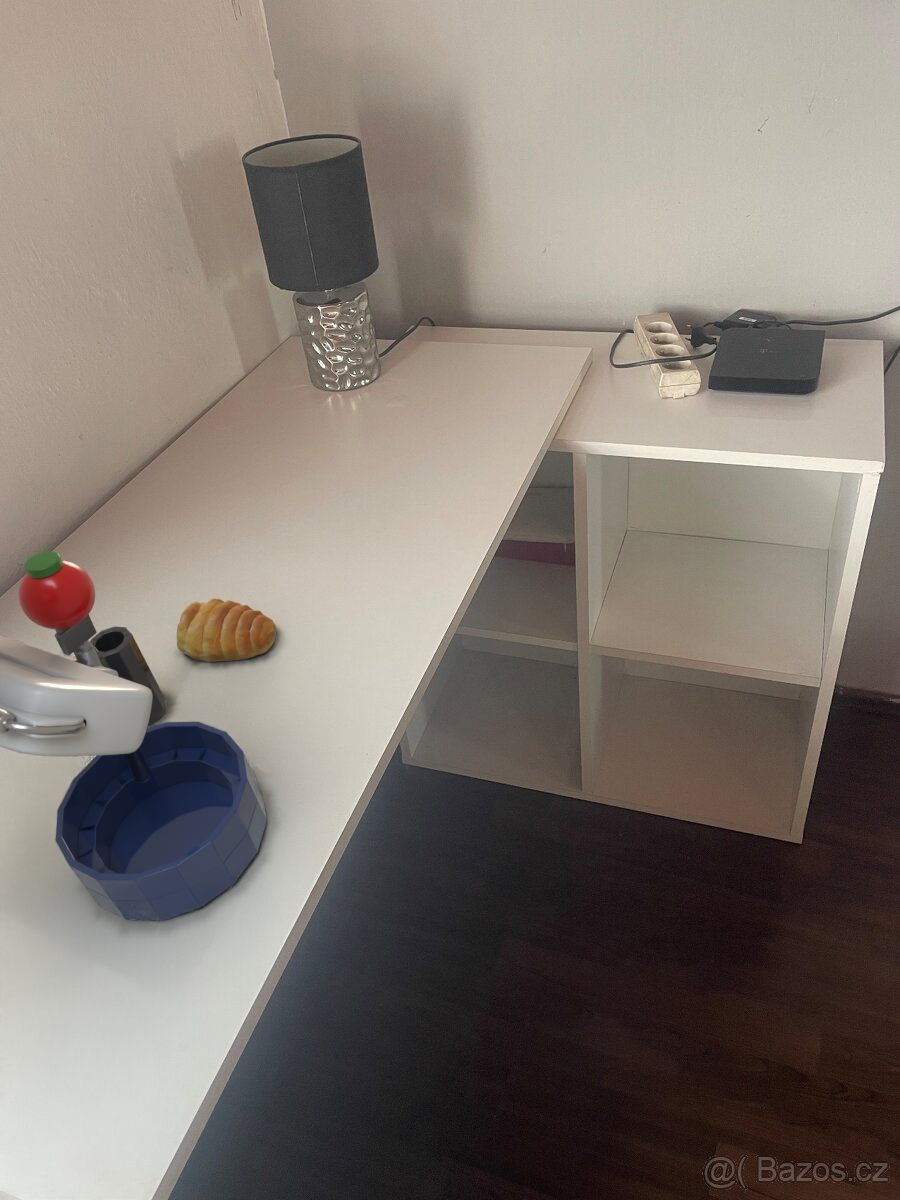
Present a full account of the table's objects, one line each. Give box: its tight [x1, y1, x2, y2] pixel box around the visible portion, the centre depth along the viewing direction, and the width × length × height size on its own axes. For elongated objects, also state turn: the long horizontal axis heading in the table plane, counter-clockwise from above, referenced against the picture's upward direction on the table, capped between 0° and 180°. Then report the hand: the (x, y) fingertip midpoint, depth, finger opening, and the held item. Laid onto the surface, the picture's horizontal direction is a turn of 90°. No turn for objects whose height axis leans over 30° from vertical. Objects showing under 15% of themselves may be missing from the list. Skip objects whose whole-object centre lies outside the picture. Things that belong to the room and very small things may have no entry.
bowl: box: [55, 721, 268, 921], centre depth 66 cm, size 14×14×6 cm
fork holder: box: [89, 625, 168, 727], centre depth 76 cm, size 4×4×9 cm
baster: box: [18, 550, 151, 783], centre depth 56 cm, size 4×4×19 cm
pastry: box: [176, 598, 277, 663], centre depth 83 cm, size 9×7×4 cm
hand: (94, 676), depth 56 cm, fingers closed on baster
